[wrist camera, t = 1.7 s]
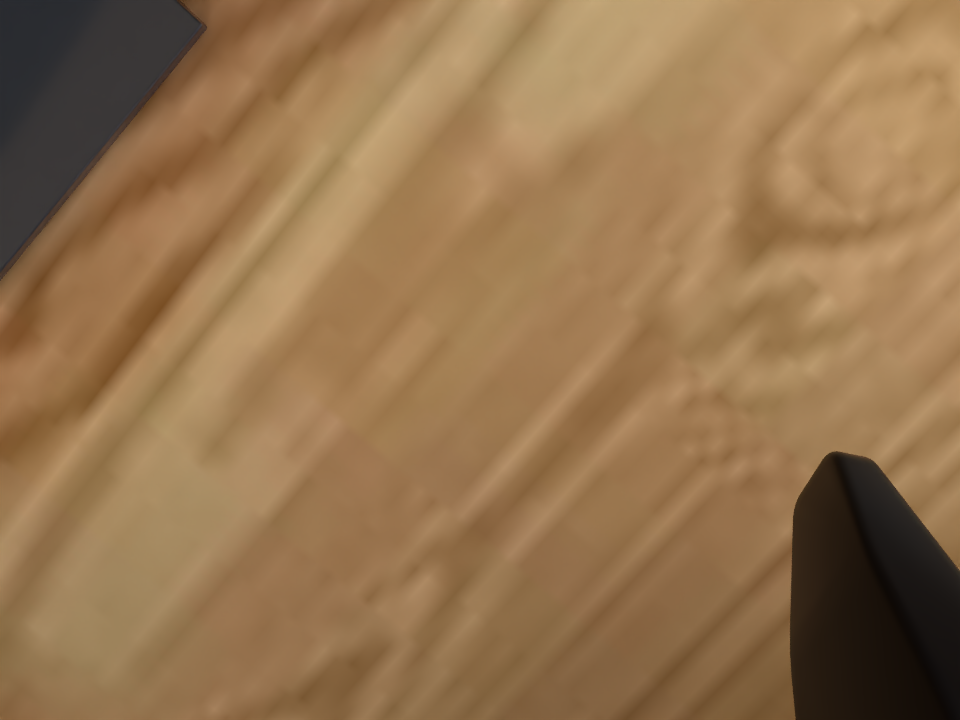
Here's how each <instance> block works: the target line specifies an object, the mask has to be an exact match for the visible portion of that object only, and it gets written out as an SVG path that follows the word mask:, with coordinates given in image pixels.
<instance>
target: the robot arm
mask: <svg viewBox="0 0 960 720" xmlns="http://www.w3.org/2000/svg"><path fill="white" fill-rule="evenodd" d="M790 658H791V674H792V685H793V695H794V706H795V717H796V720H960V571H959V569H958V568H957V567H956V565H955V564H954V563H953V562H952V560H951V559H950V558H949V556H948V555H947V554H946V553H945V551H944V550H943V549H942V547H941V546H940V545H939V544H938V542H937V541H936V540H935V538H934V537H933V536H932V535H931V533H930V532H929V531H928V529H927V528H926V527H925V526H924V524H923V523H922V522H921V520H920V519H919V518H918V517H917V515H916V514H915V513H914V511H913V510H912V509H911V508H910V506H909V505H908V504H907V502H906V501H905V500H904V499H903V497H902V496H901V495H900V493H899V492H898V491H897V490H896V488H895V487H894V486H893V484H892V483H891V482H890V481H889V479H888V478H887V477H886V475H885V474H884V473H883V471H882V470H881V469H880V468H879V466H878V465H877V464H876V463H875V462H874V461H872V460H871V459H869V458H867V457H863V456H858V455H853V454H848V453H843V452H838V451H836V452H831V453H829V454H828V455H826V456H825V457H824V459H823V460H822V461H821V463H820V465H819V466H818V468H817V469H816V471H815V472H814V474H813V475H812V477H811V478H810V480H809V482H808V483H807V485H806V486H805V488H804V489H803V491H802V492H801V494H800V496H799V497H798V500H797V502H796V505H795V509H794V515H793V539H792V576H791V614H790Z"/></svg>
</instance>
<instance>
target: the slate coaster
mask: <svg viewBox="0 0 960 720" xmlns="http://www.w3.org/2000/svg"><path fill="white" fill-rule="evenodd" d="M206 29H207V26H206V25H205V24H204V23H203V22H202V21H201V20H200V19H199V18H198V17H197V16H196V15H195V14H193V13H192V12H191V11H190V10H189V9H188V8H187V7H186V6H185V5H184V4H183V3H182V2H180V1H179V0H0V281H1V279H2V278H3V277H4V276H5V274H6V273H7V272H8V271H9V270H10V268H11V267H12V266H13V265H14V263H15V262H16V261H17V260H18V259H19V257H20V256H21V255H22V254H23V252H24V251H25V250H26V249H27V248H28V246H29V245H30V244H31V243H32V241H33V240H34V239H35V238H36V237H37V235H38V234H39V233H40V232H41V230H42V229H43V228H44V227H45V226H46V224H47V223H48V222H49V221H50V219H51V218H52V217H53V216H54V215H55V213H56V212H57V211H58V210H59V208H60V207H61V206H62V205H63V204H64V202H65V201H66V200H67V199H68V198H69V196H70V195H71V194H72V193H73V191H74V190H75V189H76V188H77V187H78V185H79V184H80V183H81V182H82V180H83V179H84V178H85V177H86V176H87V174H88V173H89V172H90V171H91V169H92V168H93V167H94V166H95V165H96V163H97V162H98V161H99V160H100V158H101V157H102V156H103V155H104V154H105V152H106V151H107V150H108V149H109V147H110V146H111V145H112V144H113V143H114V141H115V140H116V139H117V138H118V136H119V135H120V134H121V133H122V132H123V130H124V129H125V128H126V127H127V125H128V124H129V123H130V122H131V121H132V119H133V118H134V117H135V116H136V114H137V113H138V112H139V111H140V110H141V108H142V107H143V106H144V105H145V103H146V102H147V101H148V100H149V99H150V97H151V96H152V95H153V94H154V92H155V91H156V90H157V89H158V88H159V86H160V85H161V84H162V83H163V82H164V80H165V79H166V78H167V77H168V75H169V74H170V73H171V72H172V71H173V69H174V68H175V67H176V66H177V64H178V63H179V62H180V61H181V60H182V58H183V57H184V56H185V55H186V53H187V52H188V51H189V50H190V49H191V47H192V46H193V45H194V44H195V42H196V41H197V40H198V39H199V38H200V36H201V35H202V34H203V33H204V31H205V30H206Z"/></svg>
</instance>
